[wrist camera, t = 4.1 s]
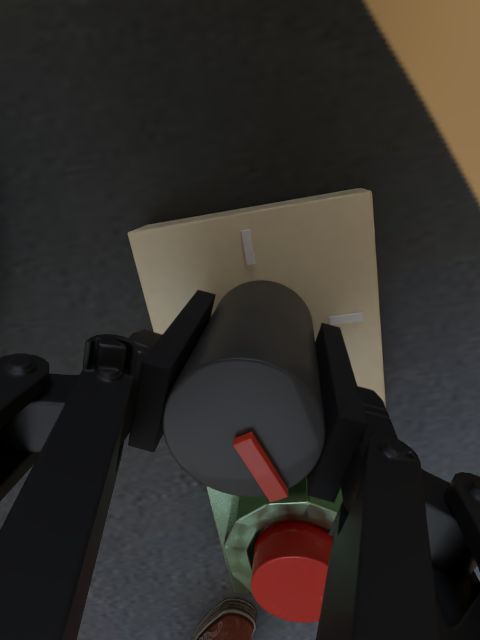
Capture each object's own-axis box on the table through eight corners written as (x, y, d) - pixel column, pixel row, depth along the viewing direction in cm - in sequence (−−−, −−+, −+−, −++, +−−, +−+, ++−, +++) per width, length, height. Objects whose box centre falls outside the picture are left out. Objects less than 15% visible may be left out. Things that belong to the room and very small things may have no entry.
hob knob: (194, 308, 18) (126, 404, 10) (283, 261, 16) (276, 334, 9) (243, 387, 19) (212, 524, 12) (330, 349, 18) (356, 476, 10)
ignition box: (207, 433, 23) (190, 484, 19) (368, 421, 21) (384, 474, 18) (237, 561, 26) (228, 625, 23) (380, 558, 25) (395, 627, 21)
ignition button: (247, 520, 20) (243, 557, 18) (336, 517, 19) (341, 555, 18) (261, 583, 22) (258, 623, 20) (344, 582, 21) (350, 624, 19)
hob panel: (146, 224, 19) (124, 232, 17) (361, 187, 17) (373, 190, 15) (194, 419, 23) (183, 450, 20) (377, 404, 21) (388, 436, 19)
